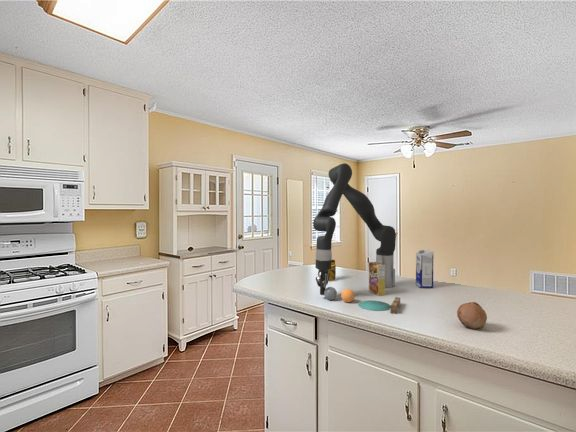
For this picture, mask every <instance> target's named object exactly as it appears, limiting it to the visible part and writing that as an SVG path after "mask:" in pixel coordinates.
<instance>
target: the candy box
mask: <svg viewBox="0 0 576 432" xmlns="http://www.w3.org/2000/svg"><path fill="white" fill-rule="evenodd" d="M368 291H369V292H370V293H373V294H374V295H377V296H385V295H386V287H385V265H383V264H380V263H377V262H376V261H368Z"/></svg>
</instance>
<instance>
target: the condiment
mask: <svg viewBox="0 0 576 432" xmlns="http://www.w3.org/2000/svg"><path fill="white" fill-rule="evenodd" d="M336 268H337V267H336V259H332V261H331V269H329V270H328V273H330V277H329V281H328V282H338V280H337V279H336V277H337V275H336V274H337V273H336V272H337V270H336Z"/></svg>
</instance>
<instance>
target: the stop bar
mask: <svg viewBox="0 0 576 432" xmlns="http://www.w3.org/2000/svg"><path fill="white" fill-rule="evenodd" d="M390 306H391V308H390V314H394V315H395V314H397V312H398V310H399V308H400V307H401V297H397V296H395V298H394V300H393V301H392V303H391V304H390Z"/></svg>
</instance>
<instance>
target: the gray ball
mask: <svg viewBox="0 0 576 432" xmlns="http://www.w3.org/2000/svg"><path fill="white" fill-rule="evenodd" d="M337 295H338V291H337V289H336V288H335V287H334V286H328V287H326V289H325V291H324V295H323V296H324V297H325V299H326V300H328V301H332V300H335V299H336V298H337Z"/></svg>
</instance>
